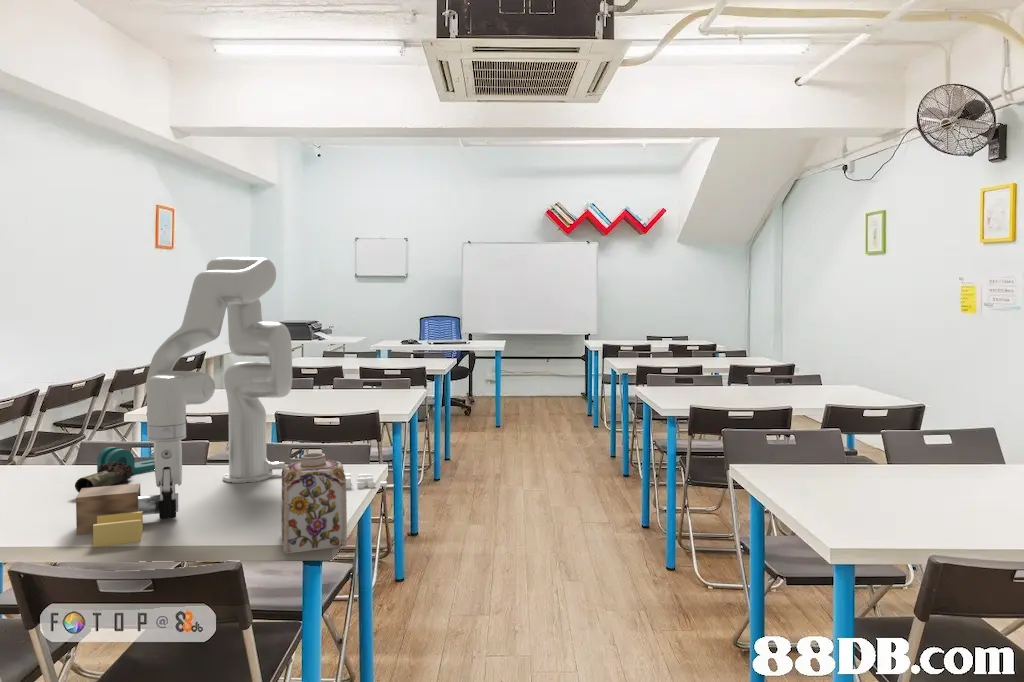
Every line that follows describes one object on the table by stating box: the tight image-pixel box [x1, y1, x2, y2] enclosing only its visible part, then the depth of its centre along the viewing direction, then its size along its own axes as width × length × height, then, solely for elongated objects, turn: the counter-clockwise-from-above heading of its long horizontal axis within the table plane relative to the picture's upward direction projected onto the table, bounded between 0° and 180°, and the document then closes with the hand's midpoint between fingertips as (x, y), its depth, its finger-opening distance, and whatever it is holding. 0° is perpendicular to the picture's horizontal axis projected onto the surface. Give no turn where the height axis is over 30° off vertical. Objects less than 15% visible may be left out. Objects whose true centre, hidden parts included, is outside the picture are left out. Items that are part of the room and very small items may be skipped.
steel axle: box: [138, 492, 179, 516], centre depth 147 cm, size 18×4×4 cm, turn 114°
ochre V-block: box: [92, 511, 144, 548], centre depth 137 cm, size 8×7×4 cm
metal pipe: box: [74, 461, 135, 493], centre depth 176 cm, size 18×7×6 cm, turn 177°
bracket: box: [96, 446, 155, 475], centre depth 194 cm, size 18×7×8 cm, turn 145°
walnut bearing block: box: [75, 482, 142, 536], centre depth 145 cm, size 11×8×8 cm
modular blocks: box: [344, 472, 395, 490], centre depth 179 cm, size 20×7×4 cm, turn 105°
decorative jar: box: [280, 452, 348, 554], centre depth 135 cm, size 12×12×18 cm
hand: (168, 514), depth 150 cm, fingers closed on steel axle, 4 cm apart
